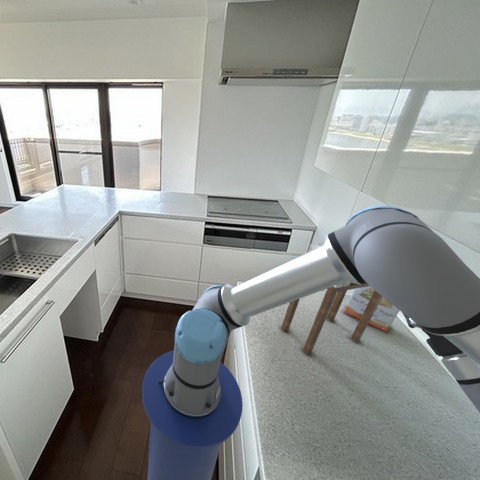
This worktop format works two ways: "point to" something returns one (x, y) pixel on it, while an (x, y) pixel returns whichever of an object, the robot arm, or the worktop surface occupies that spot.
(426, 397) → the worktop surface
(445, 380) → the worktop surface
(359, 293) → the cracker box
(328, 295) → the wooden side table
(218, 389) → the robot arm
